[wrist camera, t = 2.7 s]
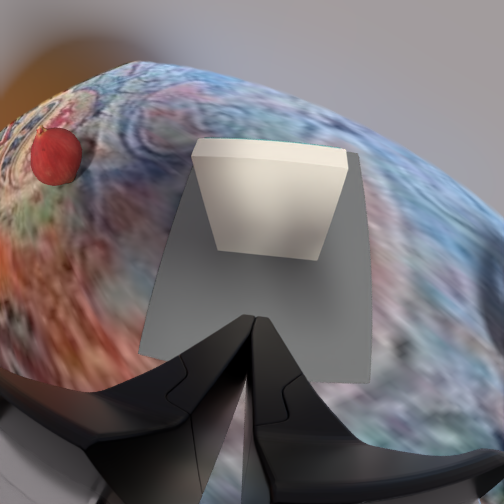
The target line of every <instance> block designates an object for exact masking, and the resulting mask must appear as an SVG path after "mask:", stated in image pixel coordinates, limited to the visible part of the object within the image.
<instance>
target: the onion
mask: <svg viewBox="0 0 504 504" xmlns="http://www.w3.org/2000/svg"><path fill="white" fill-rule="evenodd" d="M81 158H82V148H81V145H80V142H79V141H78V140H77V138H76V137H75V135H74V134H73V133H71V132H70V131H68V130H66V129H63V128H49V129H46V128H44V127H43V125H41V126H39V127H38V128H37V134H36V136H35V140H34V142H33V144H32V148H31V168H32V171H33V173H34V174H35V176H36V177H37V179H38V180H39V181H41V182H42V183H44V184H47V185H52V186H56V185H62V184H65V183H70V182H72V181H73V180H74V179H75V177H76V173H77V171H78V169H79V166H80V163H81Z"/></svg>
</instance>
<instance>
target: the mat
mask: <svg viewBox="0 0 504 504" xmlns="http://www.w3.org/2000/svg"><path fill="white" fill-rule="evenodd" d="M346 154H347V162H348V171H347V175H346V178H345V181H344V184H343V187H342V191H341V194H340V197H339V200H338V203H337V206H336V209H335V212H334V215H333V218H332V221H331V224H330V226H329V229H328V232H327V235H326V238H325V241H324V244H323V246H322V249H321V252H320V255H319V257H318V260H317V261H315V260H305V259H296V258H286V257H276V256H267V255H257V254H247V253H238V252H228V251H218V249H217V246H216V243H215V239H214V236H213V233H212V229H211V226H210V222H209V219H208V215H207V212H206V208H205V205H204V201H203V198H202V194H201V191H200V187H199V183H198V180H197V176H196V173H195V169H194V165H193V167H192V170H191V172H190V175H189V178H188V181H187V183H186V186H185V189H184V192H183V195H182V198H181V200H180V203H179V206H178V209H177V212H176V215H175V218H174V221H173V224H172V227H171V231H170V234H169V237H168V240H167V243H166V247H165V250H164V253H163V257H162V260H161V264H160V267H159V271H158V274H157V278H156V281H155V285H154V289H153V293H152V296H151V300H150V304H149V308H148V312H147V316H146V320H145V325H144V329H143V333H142V338H141V342H140V347H139V351H138V354H140V355H144V356H148V357H152V358H156V359H160V360H165V361H169V360H171V359H172V358H174V357H176V356H177V355H179V354H181V353H182V352H184V351H186V350H187V349H189V348H191V347H192V346H194V345H195V344H197V343H199V342H200V341H202V340H203V339H205V338H207V337H208V336H210V335H211V334H213V333H215V332H216V331H218V330H219V329H221V328H222V327H224V326H225V325H227V324H229V323H230V322H232V321H233V320H235V319H236V318H238V317H239V316H241V315H243V314H247V315H254V316H255V317H257V316H262V317H268V318H270V320H271V322H272V323H273V325H274V327H275V328H276V330H277V332H278V333H279V335H280V336H281V338H282V340H283V341H284V343H285V344H286V346H287V348H288V349H289V351H290V353H291V354H292V356H293V357H294V359H295V361H296V362H297V364H298V365H299V367H300V369H301V370H302V372H303V374H304V375H305V376H306V378H307V380H308V381H309V382H327V383H370V372H371V352H372V279H371V259H370V245H369V232H368V222H367V212H366V204H365V196H364V188H363V181H362V174H361V168H360V162H359V156H358V153H352V152H346Z"/></svg>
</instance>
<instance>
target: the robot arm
mask: <svg viewBox="0 0 504 504" xmlns="http://www.w3.org/2000/svg"><path fill="white" fill-rule="evenodd" d="M246 377H247V380H246ZM245 381H246V397H245V422H244V446H243V470H242V495H241V504H481V503H480V500H479V499H480V498H481V497H482V496H484V495H485V494H486V493H487V492H489V491H490V490H491V489H492V488H493V487H495V486H496V485H497V484H498V483H499V482H500V481H501V480H503V479H504V452H502V451H499V450H493V449H478V450H474V451H471V452H467V453H464V454H459V455H453V456H429V455H421V454H414V453H408V452H402V451H396V450H390V449H385V448H380V447H376V446H371V445H368V444H366V443H364V442H362V441H361V440H359V439H358V438H357V437H355V436H354V435H353V434H352V433H351V432H350V431H349V430H348V428H347V427H346V426H345V425H344V424H343V423H342V422H341V421H340V420H339V419H338V417H337V416H336V415H335V414H334V413H333V412H332V411H331V410H330V408H329V407H328V406H327V405H326V404H325V403H324V401H323V400H322V399H321V398H320V397H319V395H318V394H317V393H316V391H315V390H314V389H313V387H312V386H311V384H310V383H309V381H308V380H307V378H306V376H305V375H304V374H303V372H302V370H301V369H300V367H299V365H298V364H297V362H296V361H295V359H294V357H293V356H292V354H291V353H290V351H289V349H288V348H287V346H286V344H285V343H284V341H283V340H282V338H281V336H280V335H279V333H278V332H277V330H276V328H275V327H274V325H273V323H272V322H271V320H270V318H268V317H262V316H257V317H255V316H254V315H247V314H243V315H241V316H239V317H238V318H236V319H235V320H233V321H232V322H230V323H229V324H227V325H225V326H224V327H222V328H221V329H219V330H218V331H216V332H215V333H213V334H211V335H210V336H208V337H207V338H205V339H203V340H202V341H200V342H199V343H197V344H195V345H194V346H192V347H191V348H189V349H187V350H186V351H184V352H182V353H181V354H179V355H177V356H176V357H174V358H172V359H171V360H169V361H167V362H165V363H164V364H162V365H160V366H158V367H156V368H154V369H152V370H150V371H148V372H146V373H144V374H141V375H139V376H137V377H135V378H132V379H130V380H127V381H125V382H123V383H120V384H118V385H116V386H113V387H111V388H108V389H105V390H102V391H98V392H79V391H75V390H70V389H66V388H62V387H58V386H54V385H50V384H46V383H42V382H39V381H35V380H32V379H28V378H25V377H22V376H19V375H17V374H14V373H12V372H9V371H7V370H5V369H3V368H1V367H0V504H199V502H200V500H201V497H202V494H203V492H204V490H205V487H206V485H207V482H208V480H209V477H210V475H211V472H212V470H213V467H214V465H215V462H216V460H217V457H218V455H219V452H220V450H221V447H222V444H223V442H224V439H225V436H226V434H227V431H228V428H229V426H230V423H231V420H232V418H233V415H234V412H235V410H236V407H237V404H238V401H239V399H240V396H241V393H242V390H243V387H244V384H245Z"/></svg>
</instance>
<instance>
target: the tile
mask: <svg viewBox="0 0 504 504" xmlns="http://www.w3.org/2000/svg"><path fill="white" fill-rule="evenodd" d="M191 158H192V162H193V165H194V169H195V173H196V176H197V180H198V183H199V187H200V191H201V194H202V198H203V201H204V205H205V208H206V212H207V215H208V219H209V222H210V226H211V229H212V233H213V236H214V239H215V243H216V246H217V249H218V251H228V252H238V253H247V254H257V255H267V256H276V257H286V258H296V259H305V260H315V261H317V260H318V257H319V255H320V252H321V249H322V246H323V244H324V241H325V238H326V235H327V232H328V229H329V226H330V224H331V221H332V218H333V215H334V212H335V209H336V206H337V203H338V200H339V197H340V194H341V191H342V187H343V184H344V181H345V178H346V175H347V171H348V162H347V154H346V149H341V148H338V147H331V146H323V145H315V144H306V143H297V142H287V141H275V140H261V139H242V138H198V140H197V143H196V145H195V148H194V150H193V153H192V155H191Z"/></svg>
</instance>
